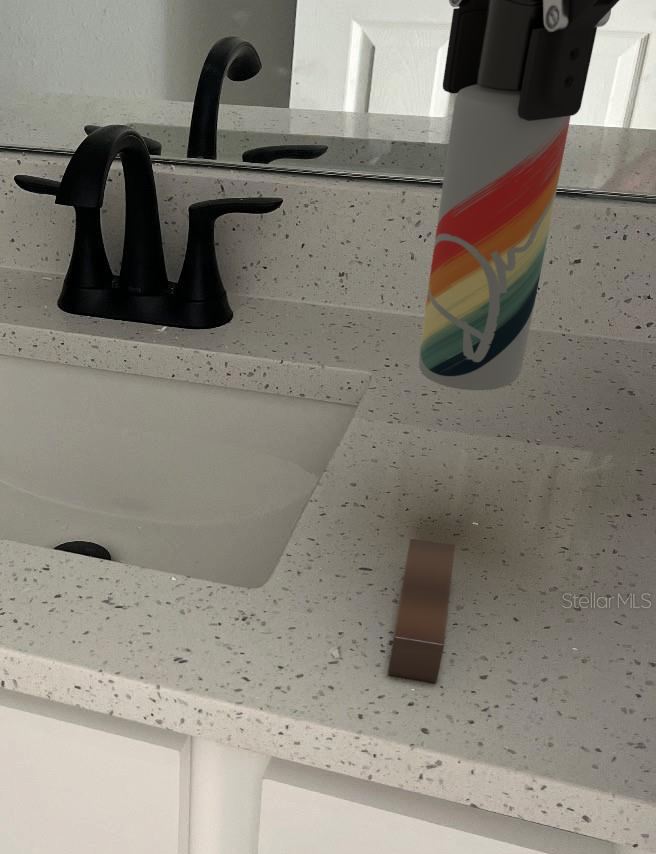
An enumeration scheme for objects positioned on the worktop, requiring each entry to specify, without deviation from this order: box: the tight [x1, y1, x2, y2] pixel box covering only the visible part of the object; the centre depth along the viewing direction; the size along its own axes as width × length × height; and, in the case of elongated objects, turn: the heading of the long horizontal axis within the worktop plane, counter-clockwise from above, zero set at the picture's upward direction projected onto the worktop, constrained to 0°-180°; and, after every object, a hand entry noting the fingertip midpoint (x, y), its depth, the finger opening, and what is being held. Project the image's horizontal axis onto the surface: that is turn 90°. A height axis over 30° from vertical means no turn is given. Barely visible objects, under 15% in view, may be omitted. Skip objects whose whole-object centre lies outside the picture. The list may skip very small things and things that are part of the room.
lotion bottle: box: [418, 0, 571, 391], centre depth 63 cm, size 6×6×20 cm
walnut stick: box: [387, 537, 456, 683], centre depth 66 cm, size 10×2×2 cm, turn 162°
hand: (508, 99), depth 60 cm, fingers closed on lotion bottle, 5 cm apart
